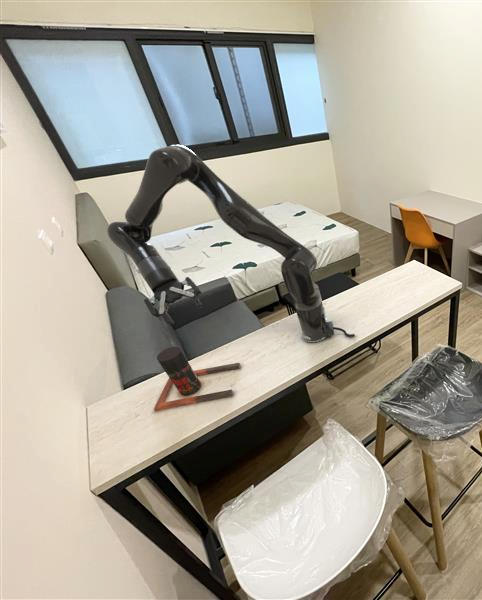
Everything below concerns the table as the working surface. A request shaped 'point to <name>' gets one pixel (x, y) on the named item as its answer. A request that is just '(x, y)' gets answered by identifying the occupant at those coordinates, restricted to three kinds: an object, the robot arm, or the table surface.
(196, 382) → the deodorant
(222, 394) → the brown angled rods
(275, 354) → the table surface
